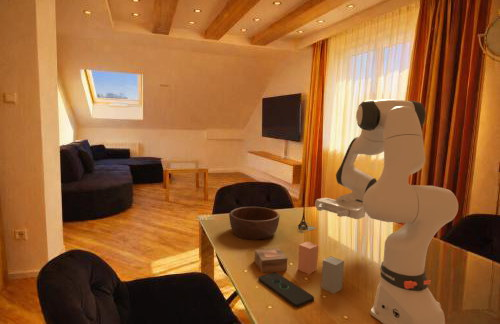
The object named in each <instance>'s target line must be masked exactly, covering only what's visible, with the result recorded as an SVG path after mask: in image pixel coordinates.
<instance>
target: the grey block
mask: <svg viewBox="0 0 500 324" xmlns="http://www.w3.org/2000/svg"><path fill="white" fill-rule="evenodd" d="M344 265H345V261H344V260H342V259H340V258H337V257H335V256H328V257H327V258H325V259H323V260H322V269H321V271H322V272H321V282H320V288H321V289H323V290H325V291H327V292H329V293H331V294H336V293H338V292H339V291H340V290H343V279H344V268H345V267H344Z"/></svg>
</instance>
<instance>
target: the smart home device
mask: <svg viewBox="0 0 500 324" xmlns="http://www.w3.org/2000/svg"><path fill="white" fill-rule="evenodd" d="M258 282H259V283H260V284H262V285H264V286H265V287H267V288H268V289H269V290H271V291H272V292H273V293H275V294H276V295H278V296H279V297H280V298H282V299H283V300H284V301H285V302H287V303H288V304H289V305H291V306H292V307H293V308H296V309H297V308H300V307H302V306H303V307H304V305H307V304H309V303H313V302H314V301H315V296H314V295H312V294H311V293H309V292H307V291H306V290H304V289H303V288H301V287H300V286H298V285H296V283H294V282H292V281H291V280H289V279H288V278H286V277H284V276H283V275H282V274H280V273H279V272H277V271H273V272H269V273H266V274H263V275H260V276H258Z"/></svg>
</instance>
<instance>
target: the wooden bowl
mask: <svg viewBox="0 0 500 324" xmlns="http://www.w3.org/2000/svg"><path fill="white" fill-rule="evenodd" d="M228 215H229V216H228V217H229V224H230V228H231V230H232V232H233V233H234V235H235V236H237V237H238V238H241V239H244V240H250V241H251V240H252V241H253V240H254V241H259V240H265V239H270V238H272V236H274V235H275V233H276V232H277V229H278V226H279V222H280V213H279V212H277V210H274V209H273V208H267V207H263V206H262V207H261V206H243V207H242V206H241V207H238V208H237V207H236V208H234V209H232V210H230V212H229V213H228Z"/></svg>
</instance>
